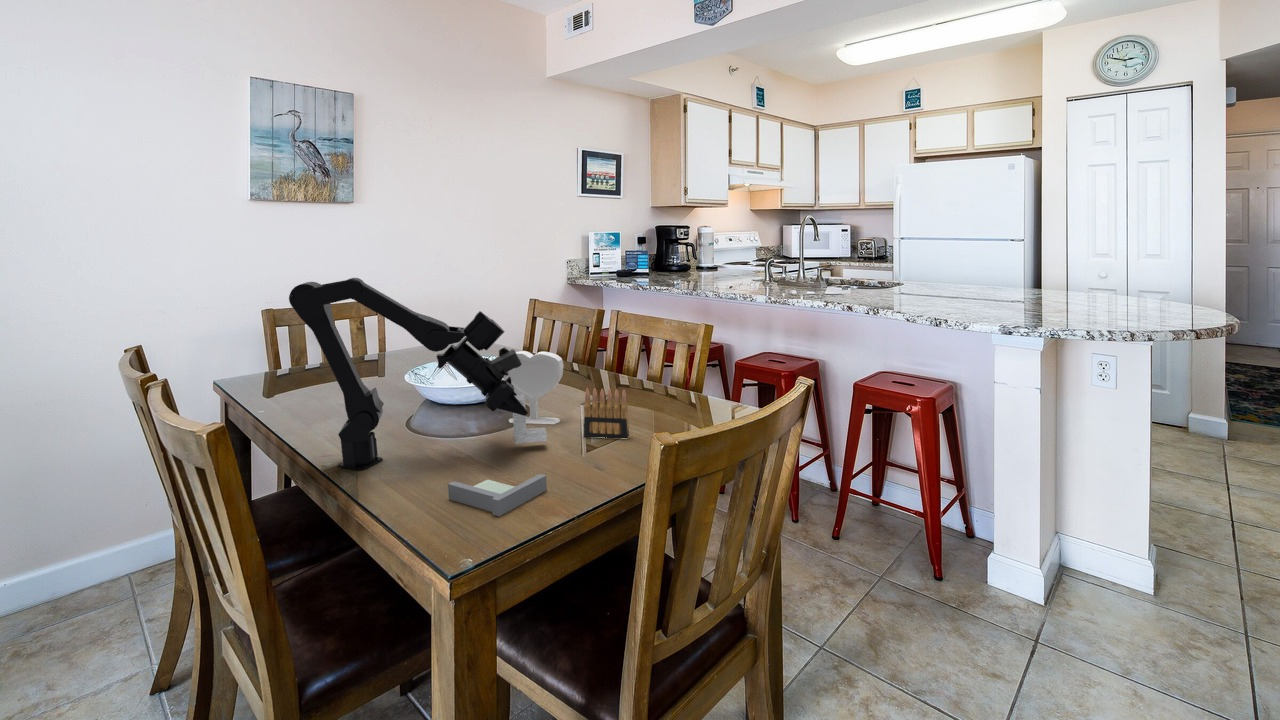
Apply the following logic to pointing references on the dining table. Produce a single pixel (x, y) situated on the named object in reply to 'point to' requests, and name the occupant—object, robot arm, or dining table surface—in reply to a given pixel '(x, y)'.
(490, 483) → the mat
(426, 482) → the dining table surface
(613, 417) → the ammunition clip
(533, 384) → the heart sculpture
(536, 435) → the white l-shaped block
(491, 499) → the corner bracket
